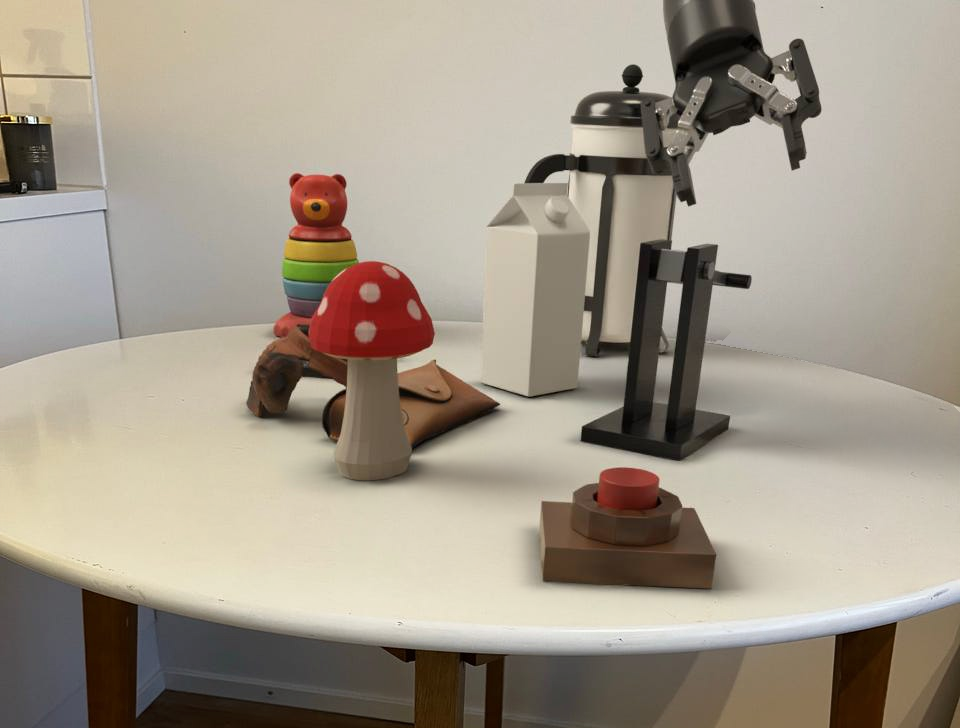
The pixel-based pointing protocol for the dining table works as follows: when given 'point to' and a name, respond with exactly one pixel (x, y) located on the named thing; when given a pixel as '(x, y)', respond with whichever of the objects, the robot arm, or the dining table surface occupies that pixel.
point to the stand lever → (674, 268)
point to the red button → (628, 489)
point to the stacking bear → (314, 246)
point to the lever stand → (640, 418)
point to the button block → (624, 543)
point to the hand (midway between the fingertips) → (741, 181)
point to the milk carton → (534, 292)
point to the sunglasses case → (422, 403)
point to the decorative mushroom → (371, 362)
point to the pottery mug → (289, 371)
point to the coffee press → (614, 202)
